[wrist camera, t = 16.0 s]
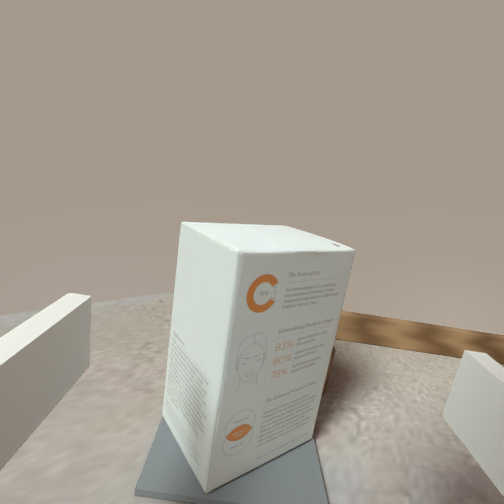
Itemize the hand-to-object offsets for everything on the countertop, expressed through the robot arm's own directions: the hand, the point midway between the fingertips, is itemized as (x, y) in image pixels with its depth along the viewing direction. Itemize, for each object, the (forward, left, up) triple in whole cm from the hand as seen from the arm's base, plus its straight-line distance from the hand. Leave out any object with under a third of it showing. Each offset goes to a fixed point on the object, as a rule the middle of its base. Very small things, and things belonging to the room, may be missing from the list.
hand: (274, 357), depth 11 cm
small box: (0, -8, -10) cm, 13 cm away
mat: (0, -8, -10) cm, 13 cm away
